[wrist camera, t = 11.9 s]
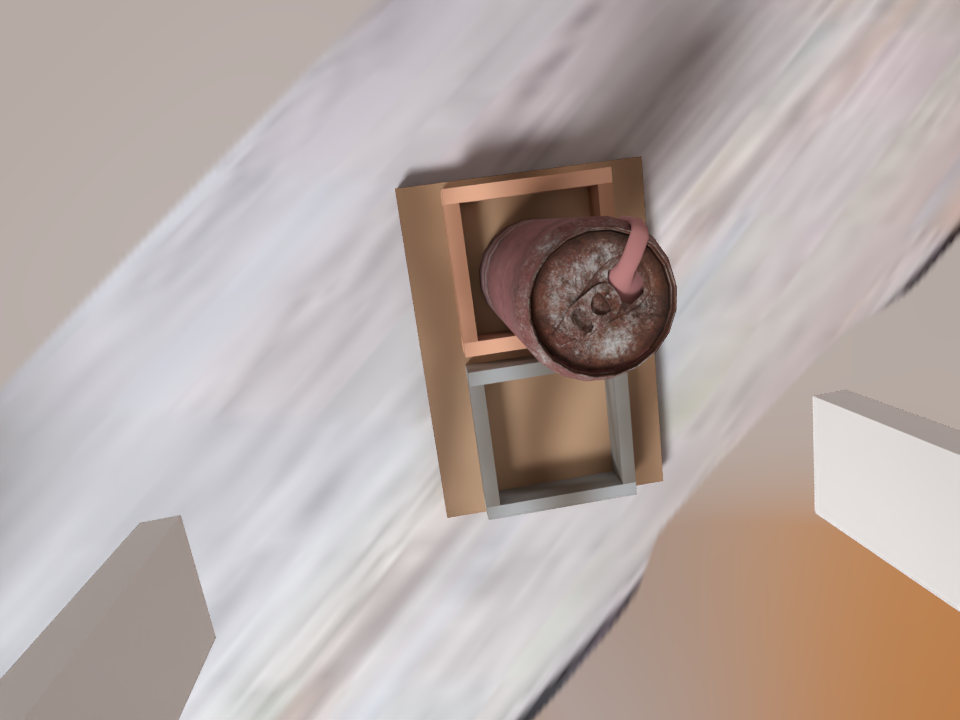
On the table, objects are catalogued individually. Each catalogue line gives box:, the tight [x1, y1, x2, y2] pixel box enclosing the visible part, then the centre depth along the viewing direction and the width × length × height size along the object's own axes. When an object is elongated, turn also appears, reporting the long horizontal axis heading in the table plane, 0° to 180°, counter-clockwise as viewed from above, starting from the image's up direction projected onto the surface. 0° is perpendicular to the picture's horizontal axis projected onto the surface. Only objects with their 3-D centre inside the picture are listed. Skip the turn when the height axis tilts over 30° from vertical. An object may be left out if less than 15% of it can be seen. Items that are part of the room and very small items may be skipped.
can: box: [479, 216, 677, 381], centre depth 28 cm, size 6×6×14 cm
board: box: [395, 156, 663, 520], centre depth 35 cm, size 14×20×3 cm
